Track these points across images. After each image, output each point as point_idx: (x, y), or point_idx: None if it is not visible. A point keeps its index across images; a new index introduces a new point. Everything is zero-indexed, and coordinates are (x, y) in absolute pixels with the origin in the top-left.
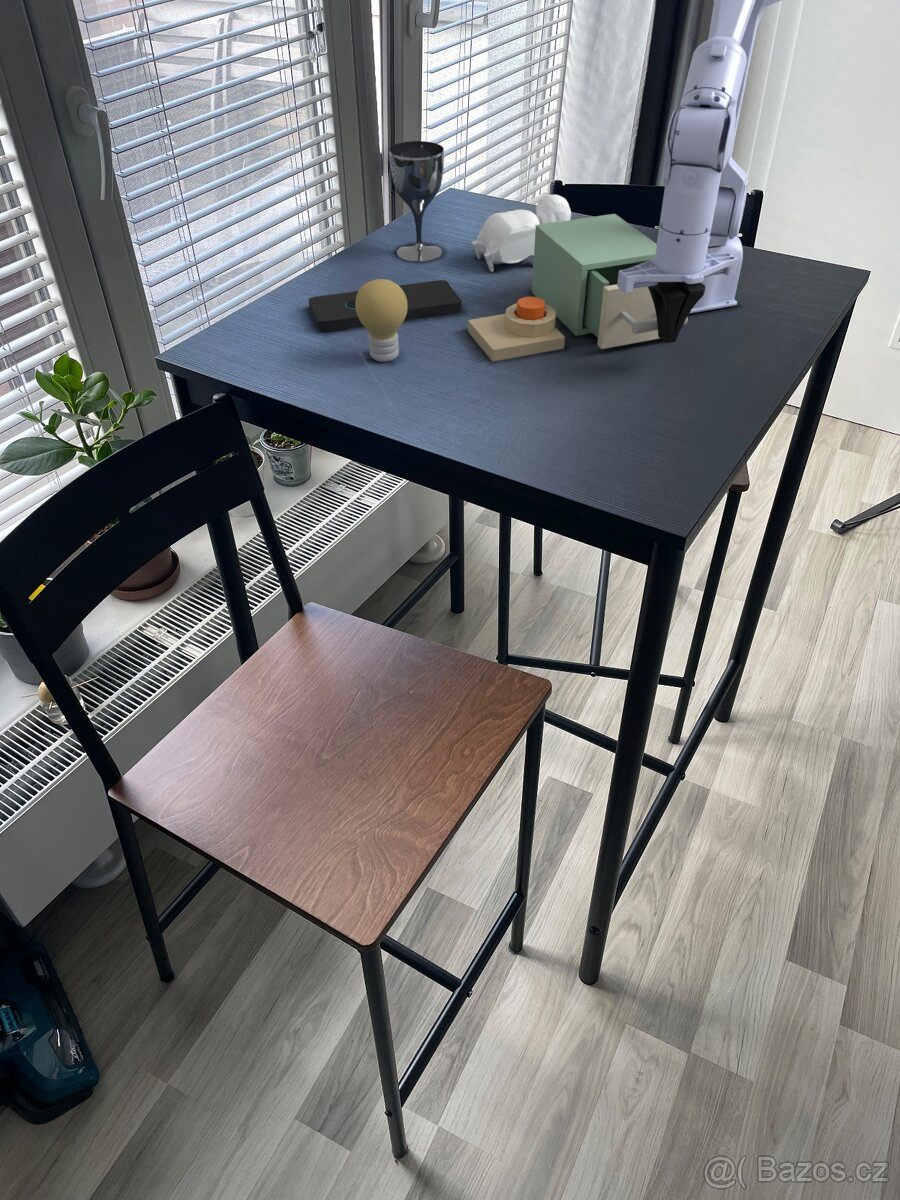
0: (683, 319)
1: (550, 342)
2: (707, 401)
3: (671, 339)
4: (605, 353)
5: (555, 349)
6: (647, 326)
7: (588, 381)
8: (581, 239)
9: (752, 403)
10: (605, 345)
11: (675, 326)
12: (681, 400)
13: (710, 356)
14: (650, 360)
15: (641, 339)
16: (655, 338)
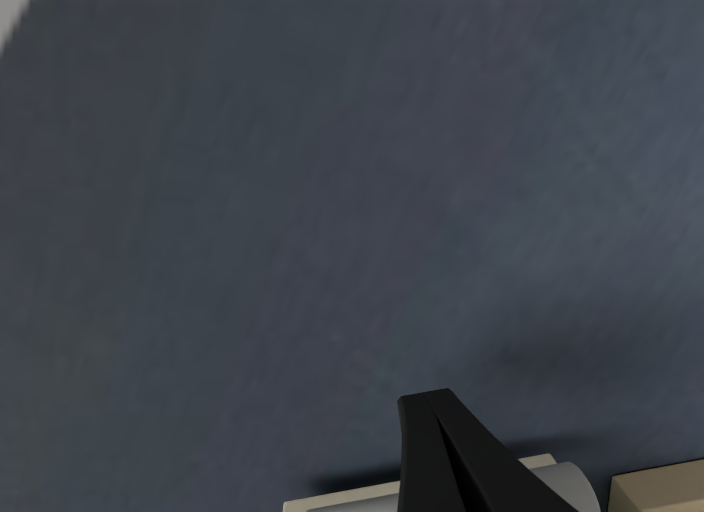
0: (423, 497)
1: (680, 493)
2: (319, 89)
3: (432, 400)
4: (515, 445)
5: (640, 474)
6: None
7: (650, 306)
8: None
9: (128, 25)
10: (543, 463)
11: (448, 458)
12: (417, 121)
13: (198, 394)
14: (405, 395)
15: None
16: (360, 490)
